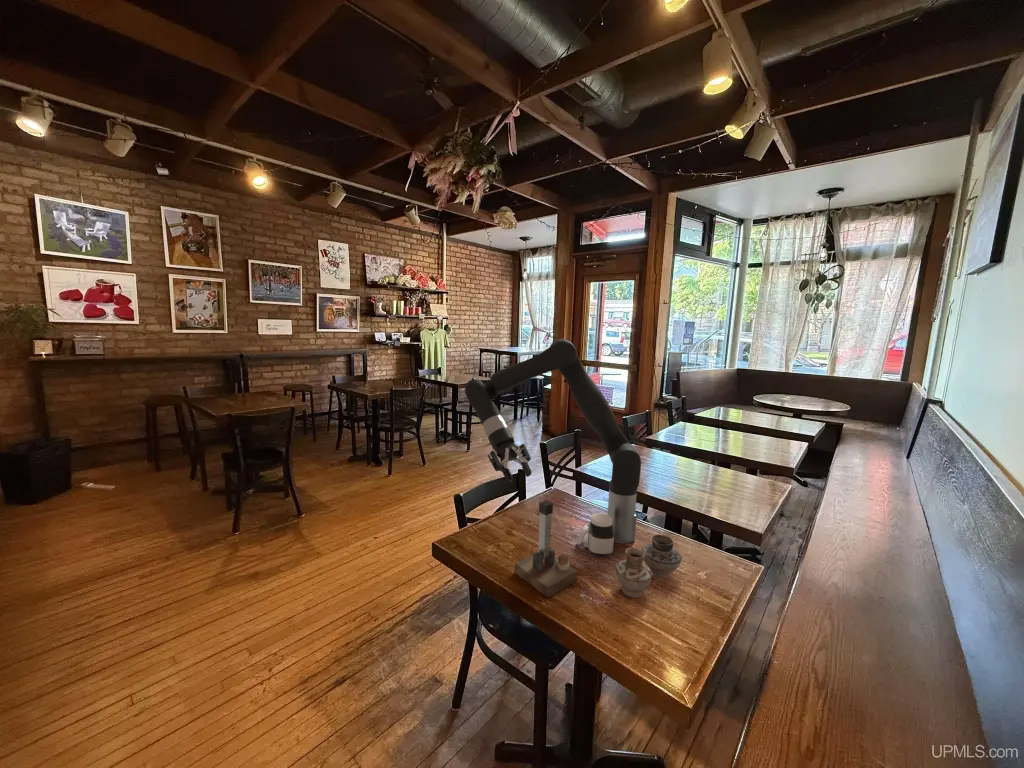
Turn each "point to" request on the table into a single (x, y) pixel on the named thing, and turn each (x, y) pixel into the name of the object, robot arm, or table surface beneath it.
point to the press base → (547, 572)
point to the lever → (545, 528)
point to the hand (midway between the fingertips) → (520, 478)
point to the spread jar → (599, 535)
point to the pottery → (657, 559)
